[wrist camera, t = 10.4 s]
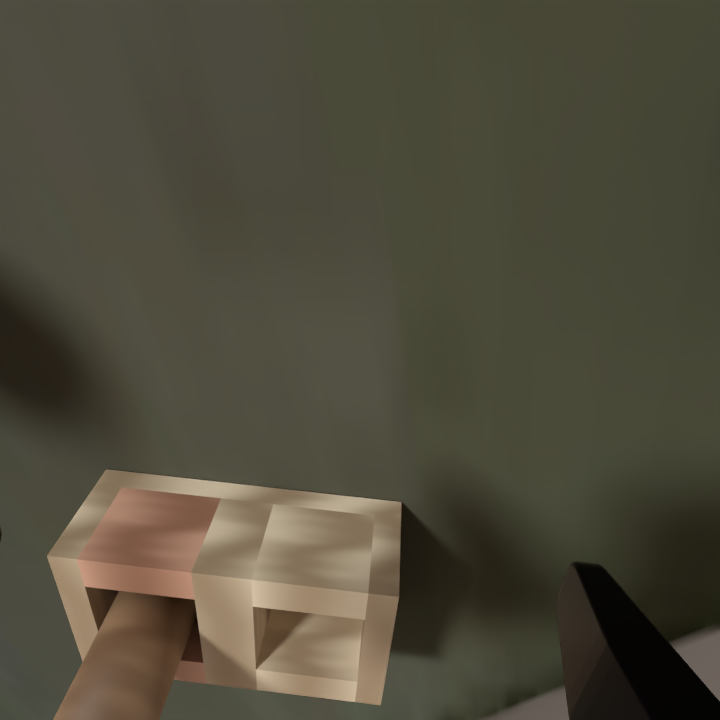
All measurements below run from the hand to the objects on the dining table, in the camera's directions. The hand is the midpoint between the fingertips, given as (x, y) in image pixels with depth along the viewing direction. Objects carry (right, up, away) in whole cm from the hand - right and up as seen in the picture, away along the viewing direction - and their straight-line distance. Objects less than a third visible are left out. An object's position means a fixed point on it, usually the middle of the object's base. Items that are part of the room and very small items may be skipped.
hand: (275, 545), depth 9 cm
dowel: (-8, -7, +19) cm, 21 cm away
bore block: (-4, -6, +20) cm, 21 cm away
